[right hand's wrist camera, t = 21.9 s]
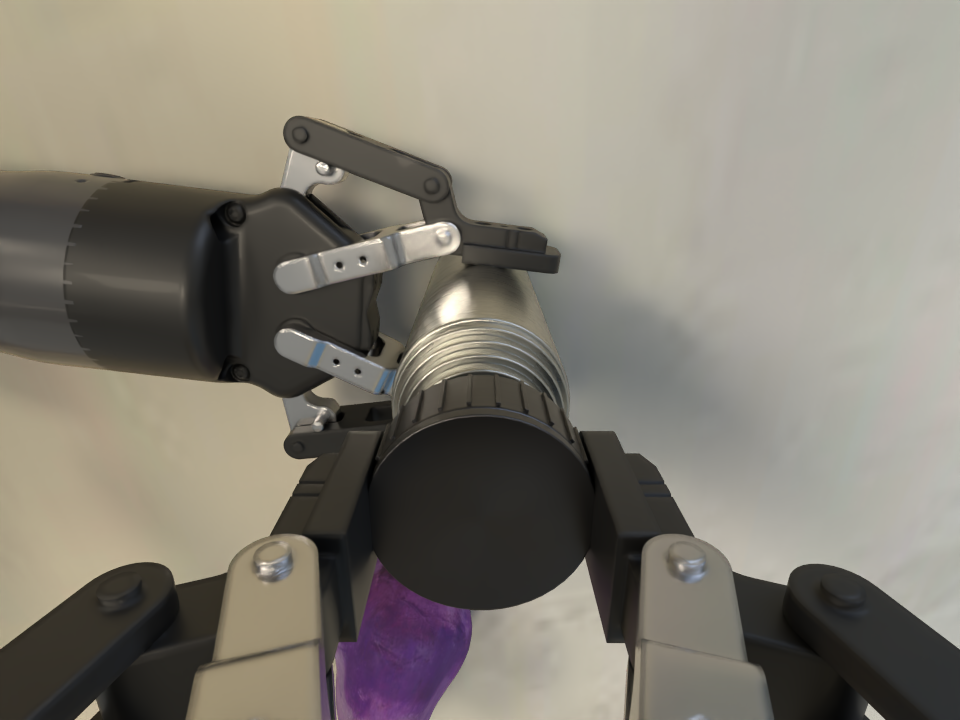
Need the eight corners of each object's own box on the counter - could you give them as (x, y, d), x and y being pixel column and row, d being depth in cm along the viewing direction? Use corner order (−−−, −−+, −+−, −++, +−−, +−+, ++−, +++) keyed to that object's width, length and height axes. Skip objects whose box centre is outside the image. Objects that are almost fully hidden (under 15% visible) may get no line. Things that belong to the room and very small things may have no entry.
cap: (339, 425, 12) (314, 474, 10) (531, 335, 11) (541, 370, 9) (438, 576, 13) (431, 641, 12) (615, 505, 13) (636, 562, 11)
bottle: (436, 334, 29) (374, 601, 12) (427, 239, 28) (340, 395, 10) (529, 328, 29) (602, 590, 12) (526, 233, 27) (606, 378, 10)
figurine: (400, 682, 38) (351, 995, 24) (300, 585, 35) (178, 876, 21) (515, 622, 36) (535, 924, 22) (419, 514, 33) (372, 783, 19)
